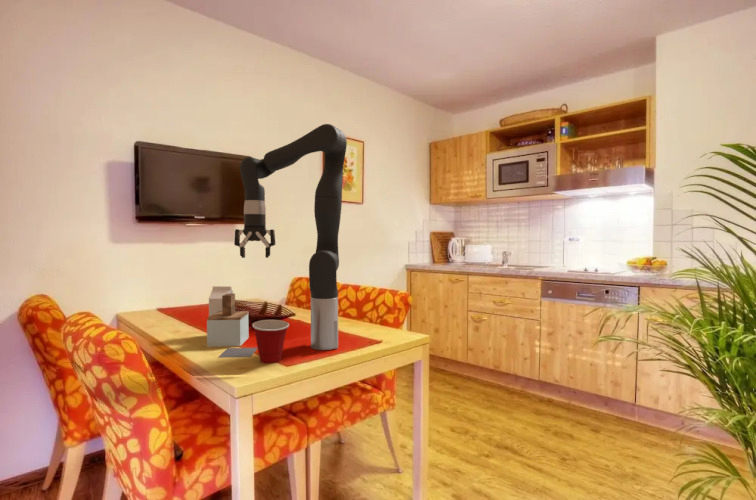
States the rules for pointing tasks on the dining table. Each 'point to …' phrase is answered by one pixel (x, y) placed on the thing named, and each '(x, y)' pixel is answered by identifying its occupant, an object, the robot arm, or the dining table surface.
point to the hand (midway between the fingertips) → (255, 257)
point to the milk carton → (217, 298)
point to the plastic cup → (270, 339)
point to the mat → (238, 352)
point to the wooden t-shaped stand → (228, 310)
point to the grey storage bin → (227, 332)
